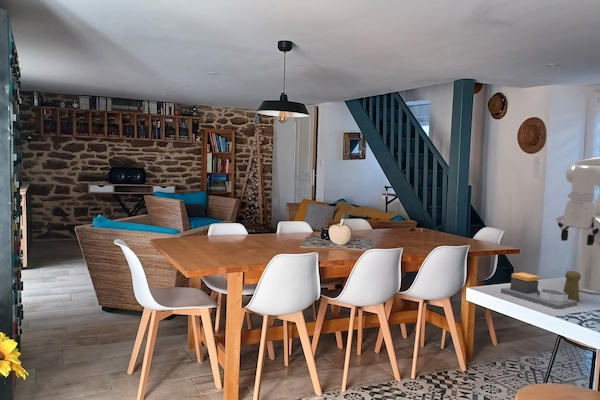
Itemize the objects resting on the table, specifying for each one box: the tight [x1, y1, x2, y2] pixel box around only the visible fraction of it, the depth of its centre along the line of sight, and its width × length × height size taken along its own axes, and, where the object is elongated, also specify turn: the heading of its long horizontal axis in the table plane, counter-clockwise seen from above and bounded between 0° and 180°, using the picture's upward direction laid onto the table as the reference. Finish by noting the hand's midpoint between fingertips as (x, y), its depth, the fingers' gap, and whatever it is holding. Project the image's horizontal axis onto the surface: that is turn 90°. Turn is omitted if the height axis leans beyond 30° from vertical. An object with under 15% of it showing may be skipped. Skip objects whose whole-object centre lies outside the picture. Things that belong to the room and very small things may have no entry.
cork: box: [562, 270, 581, 303], centre depth 191 cm, size 6×6×11 cm
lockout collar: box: [537, 288, 568, 303], centre depth 185 cm, size 10×10×2 cm
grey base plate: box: [500, 277, 578, 310], centre depth 190 cm, size 13×23×6 cm, turn 33°
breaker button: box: [511, 271, 540, 281], centre depth 195 cm, size 7×7×4 cm
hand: (576, 242), depth 190 cm, fingers open, 9 cm apart
